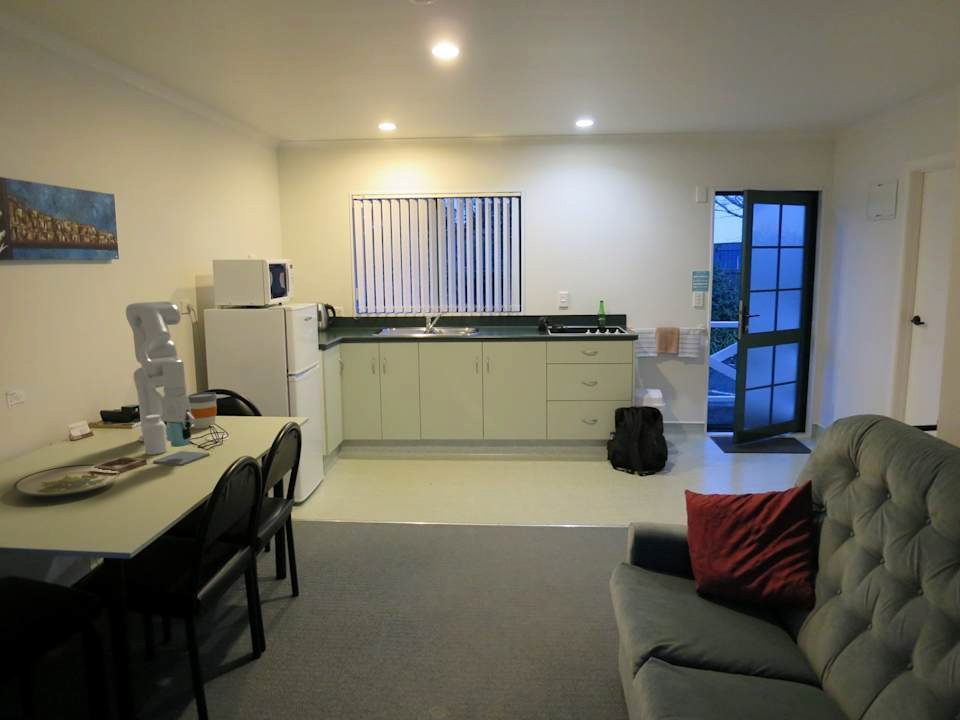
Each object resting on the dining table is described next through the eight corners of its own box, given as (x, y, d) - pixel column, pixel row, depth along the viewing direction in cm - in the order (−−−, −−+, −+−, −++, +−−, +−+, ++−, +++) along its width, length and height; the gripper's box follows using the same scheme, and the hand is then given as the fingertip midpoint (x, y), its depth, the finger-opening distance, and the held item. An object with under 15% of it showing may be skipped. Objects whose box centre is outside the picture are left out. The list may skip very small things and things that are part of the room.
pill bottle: (145, 456, 254) (141, 419, 252) (145, 451, 261) (141, 415, 259) (167, 453, 257) (164, 416, 255) (167, 448, 264) (163, 412, 262)
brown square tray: (121, 461, 248) (120, 456, 247) (146, 463, 243) (146, 459, 243) (90, 471, 236) (89, 466, 235) (116, 474, 231) (116, 469, 231)
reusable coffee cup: (206, 430, 294) (203, 397, 292) (184, 428, 298) (180, 396, 296) (224, 423, 306) (222, 392, 304) (202, 422, 310) (199, 391, 307)
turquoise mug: (180, 442, 251) (178, 419, 250) (193, 442, 249) (191, 420, 248) (162, 447, 243) (160, 424, 242) (176, 448, 241) (173, 425, 240)
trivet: (181, 452, 257) (181, 450, 257) (209, 455, 252) (209, 453, 252) (153, 463, 244) (152, 460, 244) (181, 465, 239) (181, 463, 239)
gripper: (149, 393, 244) (154, 439, 246) (185, 394, 238) (190, 442, 240) (165, 389, 251) (170, 434, 253) (200, 390, 245) (205, 437, 247)
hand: (179, 437), depth 247 cm, fingers closed on turquoise mug, 6 cm apart
